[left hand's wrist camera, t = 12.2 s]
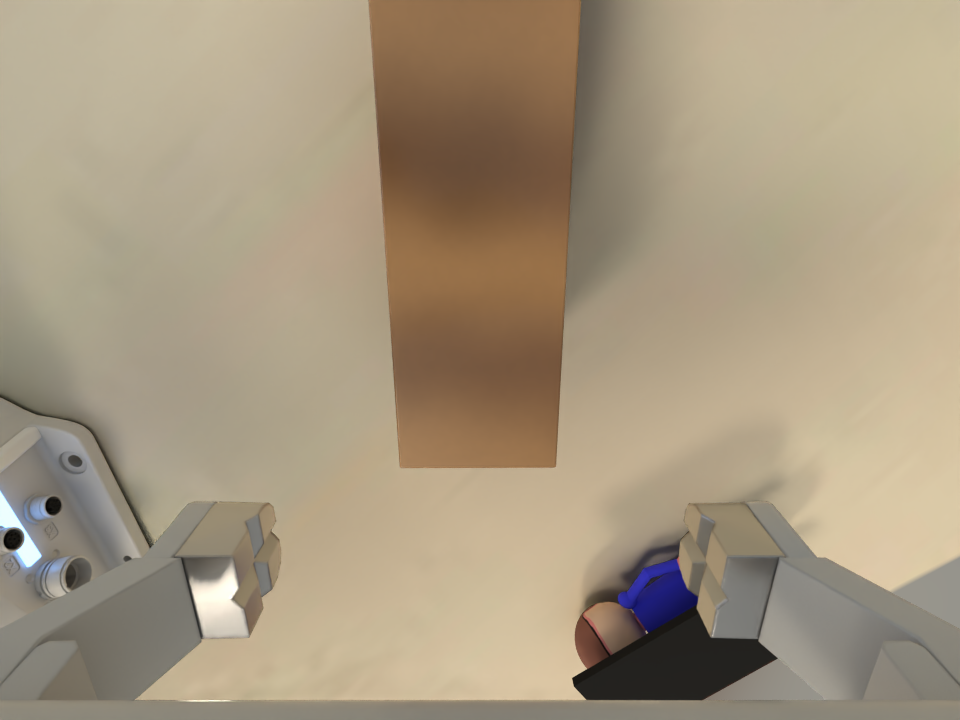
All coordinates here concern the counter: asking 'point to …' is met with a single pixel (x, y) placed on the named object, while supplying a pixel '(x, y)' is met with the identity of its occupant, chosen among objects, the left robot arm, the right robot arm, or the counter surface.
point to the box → (476, 221)
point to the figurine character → (658, 645)
